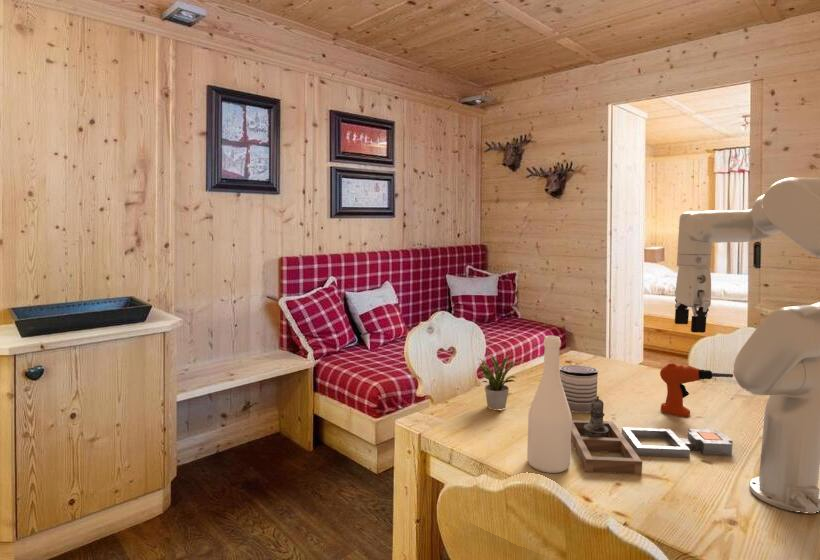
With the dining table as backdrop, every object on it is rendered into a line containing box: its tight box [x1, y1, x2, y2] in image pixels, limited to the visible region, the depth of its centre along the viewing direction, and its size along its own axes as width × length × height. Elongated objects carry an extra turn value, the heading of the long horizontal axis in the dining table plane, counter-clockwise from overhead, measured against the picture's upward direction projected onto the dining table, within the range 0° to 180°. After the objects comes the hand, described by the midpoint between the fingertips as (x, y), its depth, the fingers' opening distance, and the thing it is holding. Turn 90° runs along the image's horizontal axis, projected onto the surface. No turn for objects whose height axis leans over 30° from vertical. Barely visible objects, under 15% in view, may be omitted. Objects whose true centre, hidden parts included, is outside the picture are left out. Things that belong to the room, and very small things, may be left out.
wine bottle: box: [526, 335, 573, 474], centre depth 117 cm, size 10×10×30 cm
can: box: [559, 364, 600, 414], centre depth 154 cm, size 11×11×12 cm
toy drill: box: [659, 362, 734, 418], centre depth 146 cm, size 5×19×15 cm, turn 56°
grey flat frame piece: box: [621, 426, 733, 459], centre depth 127 cm, size 12×23×3 cm, turn 84°
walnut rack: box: [571, 419, 643, 475], centre depth 125 cm, size 22×12×3 cm, turn 174°
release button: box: [698, 433, 722, 440], centre depth 127 cm, size 4×4×3 cm
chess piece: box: [584, 395, 609, 438], centre depth 130 cm, size 6×6×12 cm
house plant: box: [477, 354, 526, 409], centre depth 153 cm, size 14×14×16 cm
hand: (689, 327), depth 132 cm, fingers open, 9 cm apart
